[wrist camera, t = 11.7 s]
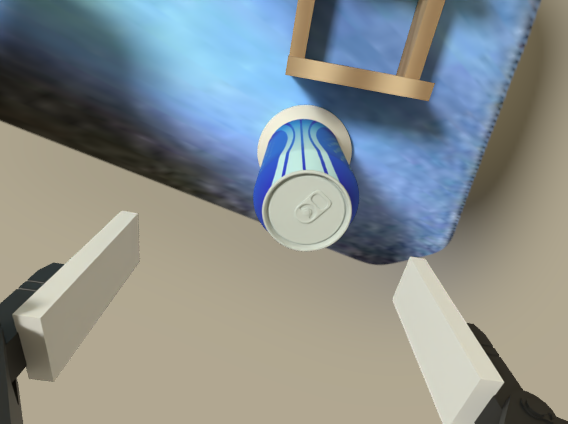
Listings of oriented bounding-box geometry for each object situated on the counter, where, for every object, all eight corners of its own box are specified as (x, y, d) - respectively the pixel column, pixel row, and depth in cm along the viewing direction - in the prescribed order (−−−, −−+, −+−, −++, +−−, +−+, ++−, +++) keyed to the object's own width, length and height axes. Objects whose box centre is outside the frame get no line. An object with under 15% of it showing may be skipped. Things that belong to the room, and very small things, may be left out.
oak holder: (287, 70, 35) (285, 74, 29) (312, -85, 29) (316, -123, 23) (405, 92, 36) (428, 101, 29) (451, -56, 30) (493, -85, 24)
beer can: (339, 184, 40) (364, 258, 25) (271, 189, 40) (257, 265, 26) (337, 113, 36) (365, 152, 22) (262, 120, 37) (240, 163, 22)
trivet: (252, 187, 41) (252, 189, 40) (265, 96, 36) (264, 97, 36) (338, 202, 42) (339, 204, 41) (361, 114, 37) (362, 115, 36)
